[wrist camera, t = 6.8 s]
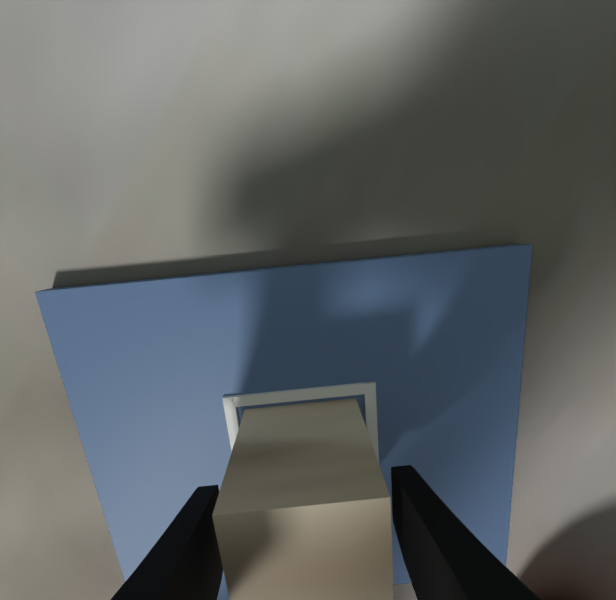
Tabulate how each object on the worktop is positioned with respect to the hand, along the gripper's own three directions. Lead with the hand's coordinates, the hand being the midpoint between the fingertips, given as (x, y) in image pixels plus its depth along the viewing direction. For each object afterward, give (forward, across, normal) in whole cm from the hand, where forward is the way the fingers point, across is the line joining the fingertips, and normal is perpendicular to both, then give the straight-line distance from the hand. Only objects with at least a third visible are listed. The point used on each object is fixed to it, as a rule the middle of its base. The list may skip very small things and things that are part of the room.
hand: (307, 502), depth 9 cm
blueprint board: (+3, 0, 0) cm, 3 cm away
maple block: (+2, 0, 0) cm, 2 cm away
